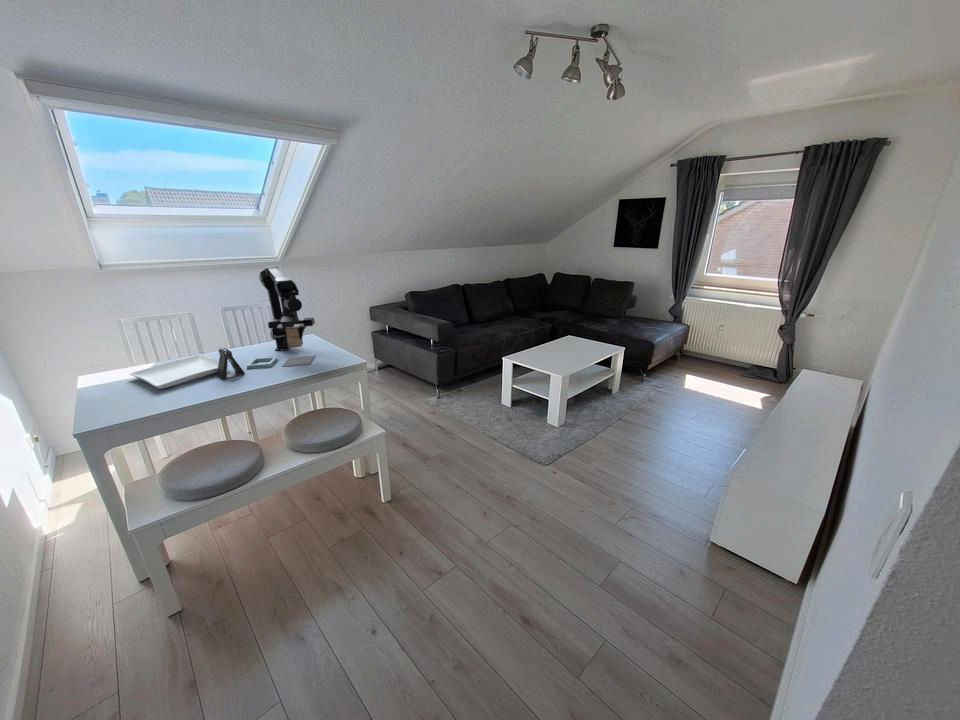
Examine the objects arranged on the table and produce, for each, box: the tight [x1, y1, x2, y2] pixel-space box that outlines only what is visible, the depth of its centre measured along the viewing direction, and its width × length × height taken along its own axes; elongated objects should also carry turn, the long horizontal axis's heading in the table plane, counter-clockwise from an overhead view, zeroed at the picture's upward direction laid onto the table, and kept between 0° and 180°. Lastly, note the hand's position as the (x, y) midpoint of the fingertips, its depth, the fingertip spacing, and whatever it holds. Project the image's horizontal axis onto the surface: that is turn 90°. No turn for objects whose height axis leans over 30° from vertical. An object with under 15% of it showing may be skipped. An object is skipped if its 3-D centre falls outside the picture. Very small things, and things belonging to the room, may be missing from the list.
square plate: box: [129, 354, 230, 390], centre depth 161 cm, size 27×27×4 cm
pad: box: [281, 355, 316, 368], centre depth 177 cm, size 12×12×1 cm
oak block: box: [286, 325, 304, 349], centre depth 172 cm, size 5×5×9 cm
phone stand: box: [216, 347, 246, 381], centre depth 159 cm, size 9×6×12 cm, turn 141°
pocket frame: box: [246, 356, 278, 370], centre depth 173 cm, size 10×10×2 cm
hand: (295, 340), depth 173 cm, fingers closed on oak block, 5 cm apart
